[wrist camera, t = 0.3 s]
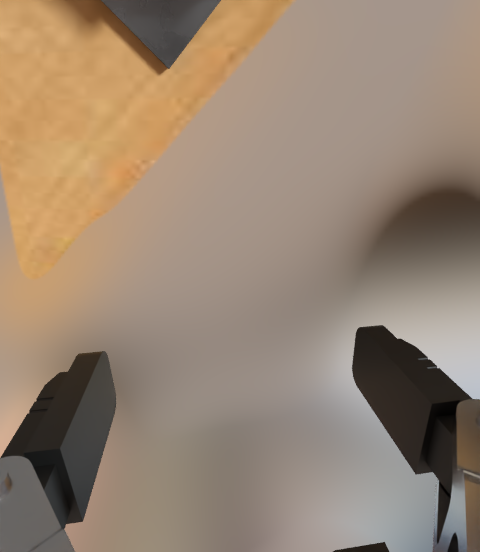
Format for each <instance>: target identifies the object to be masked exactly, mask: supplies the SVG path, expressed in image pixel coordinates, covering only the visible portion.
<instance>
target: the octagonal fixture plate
mask: <svg viewBox="0 0 480 552" xmlns="http://www.w3.org/2000/svg"><path fill="white" fill-rule="evenodd" d="M101 1H102V2H103V3H104V4H105V5H106V6H107V7H108V8H109V9H110V10H111V11H112V12H113V13H114V14H115V15H116V16H117V17H118V18H119V19H120V20H121V21H122V22H123V23H124V24H125V25H126V26H127V27H128V28H129V29H130V30H131V31H132V32H133V33H134V34H135V35H136V36H137V37H138V38H139V39H140V40H141V41H142V42H143V43H144V44H145V45H146V46H147V47H148V48H149V49H150V50H151V51H152V52H153V53H154V54H155V55H156V56H157V57H158V58H159V59H160V60H161V61H162V62H163V63H164V64H165V66H166V67H167V68H168V69H169V68H170V67H171V66H172V64H173V63H174V62H175V60H176V59H177V58H178V56H179V55H180V54H181V52H182V51H183V50H184V48H185V47H186V46H187V44H188V43H189V42H190V41H191V39H192V38H193V37H194V35H195V34H196V33H197V31H198V30H199V29H200V27H201V26H202V25H203V23H204V22H205V21H206V19H207V18H208V17H209V15H210V14H211V13H212V11H213V10H214V9H215V7H216V6H217V5H218V3H219V2H220V1H221V0H101Z"/></svg>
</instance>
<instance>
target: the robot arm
mask: <svg viewBox="0 0 480 552" xmlns="http://www.w3.org/2000/svg"><path fill="white" fill-rule="evenodd" d="M352 371H353V377H354V380H355V383H356V385H357V387H358V388H359V390H360V391H361V393H362V394H363V396H364V397H365V399H366V400H367V402H368V403H369V405H370V406H371V408H372V409H373V411H374V412H375V414H376V415H377V417H378V418H379V420H380V421H381V423H382V424H383V426H384V427H385V429H386V430H387V432H388V433H389V435H390V436H391V438H392V439H393V441H394V442H395V444H396V445H397V447H398V448H399V450H400V451H401V453H402V454H403V456H404V457H405V459H406V460H407V462H408V463H409V465H410V466H411V468H412V469H413V471H414V472H415V474H421V473H429V472H433V473H434V474H435V475H436V477H437V478H438V480H437V484H436V491H435V512H434V533H433V534H434V535H433V552H480V400H479V399H472V398H471V397H470V396H469V395H468V394H467V393H465V392H464V391H463V390H462V389H461V388H460V387H459V386H458V385H457V384H456V383H454V381H452V380H451V379H450V378H449V377H448V376H447V375H446V374H445V373H444V372H443V371H442V370H441V369H440V368H437V366H436V365H435V364H434V363H433V362H432V361H431V360H428V358H427V356H425V355H424V354H423V353H422V352H421V351H420V350H419V349H418V348H417V347H415V346H413V345H412V344H410V343H408V342H406V341H404V340H402V339H397V338H396V337H395V336H394V335H393V334H392V333H391V332H390V331H388V329H386V328H385V327H384V326H382V325H379V326H369V327H360V328H358V329H357V332H356V338H355V347H354V356H353V365H352ZM115 408H116V393H115V388H114V383H113V378H112V374H111V369H110V364H109V360H108V356H107V354H106V352H105V351H102V352H93V353H82V354H78V355H77V356H76V358H75V360H74V362H73V364H72V366H71V367H70V369H69V371H68V372H60V373H59V374H57V375H56V376H55V377H54V378H53V379H52V380H50V381H49V382H48V383H47V384H46V385H45V386H44V388H43V389H42V391H41V392H40V394H39V396H38V398H37V401H36V402H34V404H33V406H32V407H31V409H30V412H29V414H27V415H26V417H25V419H24V420H23V422H22V424H21V425H20V427H19V429H18V430H17V432H16V433H15V435H14V437H13V438H12V440H11V441H10V443H9V445H8V446H7V448H6V450H5V451H4V453H3V455H2V456H1V458H0V552H75V551H74V548H73V547H72V545H71V542H70V540H69V538H68V536H67V534H66V532H65V530H64V528H65V525H66V524H69V523H76V522H82V521H83V519H84V516H85V513H86V509H87V506H88V502H89V499H90V496H91V492H92V489H93V485H94V482H95V478H96V475H97V472H98V468H99V465H100V461H101V458H102V455H103V451H104V448H105V444H106V441H107V437H108V434H109V431H110V427H111V424H112V420H113V417H114V414H115ZM333 552H389V550H388V548H387V546H386V544H385V542H383V543H377V544H371V545H365V546H359V547H353V548H347V549H341V550H335V551H333Z"/></svg>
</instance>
